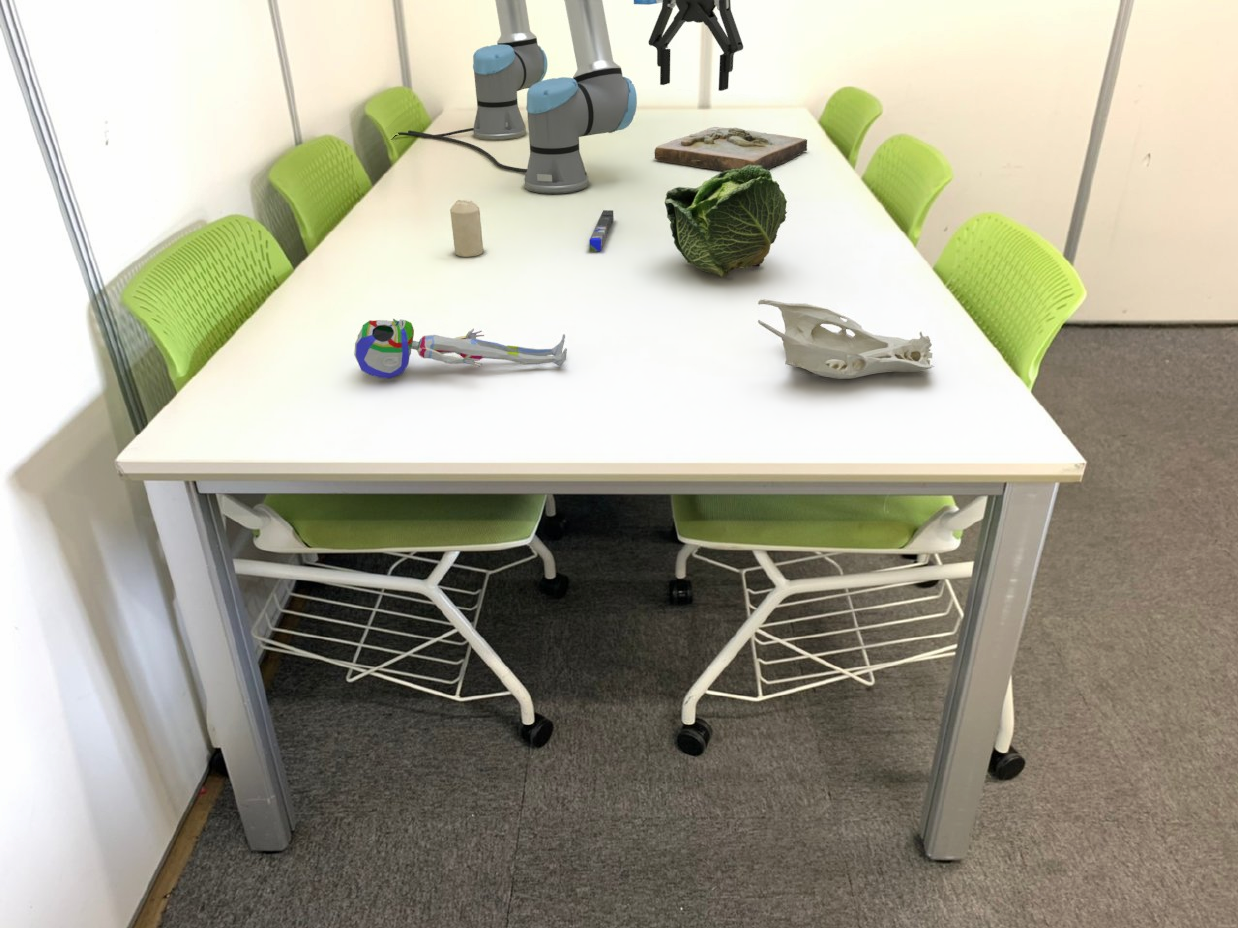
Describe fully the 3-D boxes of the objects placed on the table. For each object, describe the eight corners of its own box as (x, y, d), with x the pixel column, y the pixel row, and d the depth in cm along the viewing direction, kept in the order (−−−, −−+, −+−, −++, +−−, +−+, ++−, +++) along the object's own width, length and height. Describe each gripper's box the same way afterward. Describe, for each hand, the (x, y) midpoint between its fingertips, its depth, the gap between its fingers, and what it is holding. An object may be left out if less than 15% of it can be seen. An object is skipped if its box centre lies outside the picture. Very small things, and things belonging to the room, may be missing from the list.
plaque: (756, 147, 215) (653, 131, 230) (754, 177, 219) (653, 160, 234) (812, 125, 236) (714, 113, 251) (809, 153, 240) (712, 139, 255)
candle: (488, 249, 176) (483, 198, 171) (475, 258, 172) (470, 206, 167) (463, 246, 178) (457, 196, 173) (450, 255, 174) (443, 204, 168)
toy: (569, 347, 126) (349, 329, 122) (563, 400, 131) (350, 385, 126) (565, 318, 135) (359, 301, 130) (559, 369, 139) (360, 354, 134)
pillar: (613, 210, 190) (600, 241, 173) (613, 220, 191) (600, 251, 174) (603, 210, 190) (589, 240, 173) (603, 220, 191) (589, 251, 174)
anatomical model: (758, 289, 133) (932, 292, 129) (756, 346, 138) (923, 350, 134) (756, 331, 121) (948, 335, 117) (754, 391, 126) (938, 397, 122)
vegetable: (694, 294, 173) (643, 202, 166) (775, 239, 175) (728, 145, 167) (734, 307, 155) (678, 205, 147) (824, 245, 156) (773, 141, 149)
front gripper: (765, -32, 168) (757, 89, 179) (651, -35, 180) (651, 79, 191) (747, -29, 163) (740, 95, 174) (631, -32, 175) (632, 84, 186)
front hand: (693, 87), depth 183 cm, fingers open, 13 cm apart
